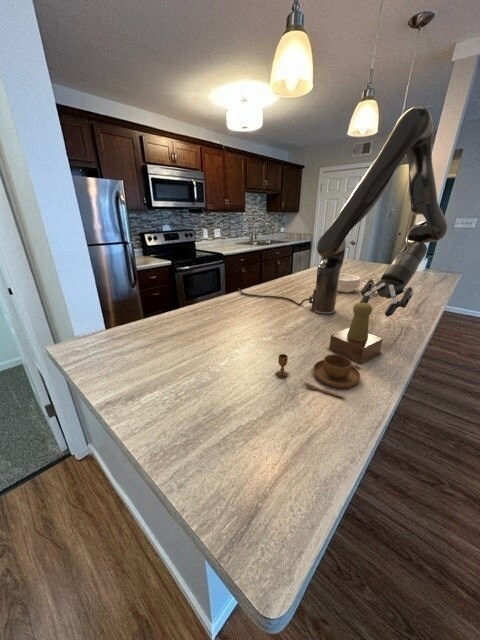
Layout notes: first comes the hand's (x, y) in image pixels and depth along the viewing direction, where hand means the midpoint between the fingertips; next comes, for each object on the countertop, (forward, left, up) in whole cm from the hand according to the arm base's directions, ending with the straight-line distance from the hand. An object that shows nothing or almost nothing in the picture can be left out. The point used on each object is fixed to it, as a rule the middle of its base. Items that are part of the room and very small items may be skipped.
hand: (373, 311), depth 83 cm
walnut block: (-2, -6, -12) cm, 14 cm away
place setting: (-7, -24, -12) cm, 28 cm away
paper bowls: (-23, +64, -12) cm, 69 cm away
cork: (-2, -6, -7) cm, 10 cm away
